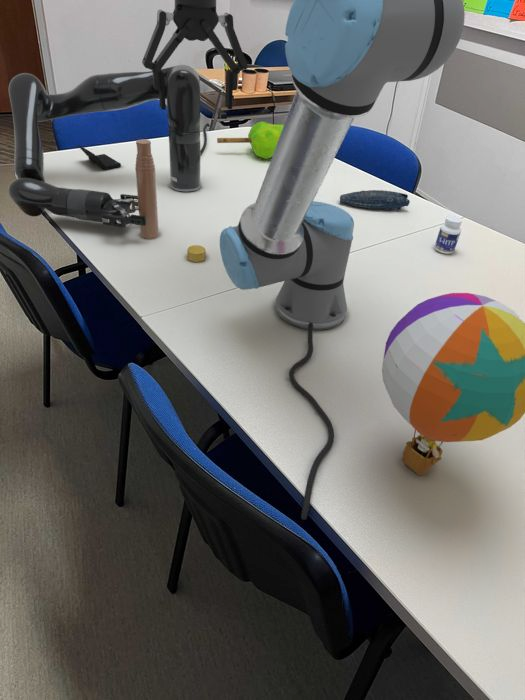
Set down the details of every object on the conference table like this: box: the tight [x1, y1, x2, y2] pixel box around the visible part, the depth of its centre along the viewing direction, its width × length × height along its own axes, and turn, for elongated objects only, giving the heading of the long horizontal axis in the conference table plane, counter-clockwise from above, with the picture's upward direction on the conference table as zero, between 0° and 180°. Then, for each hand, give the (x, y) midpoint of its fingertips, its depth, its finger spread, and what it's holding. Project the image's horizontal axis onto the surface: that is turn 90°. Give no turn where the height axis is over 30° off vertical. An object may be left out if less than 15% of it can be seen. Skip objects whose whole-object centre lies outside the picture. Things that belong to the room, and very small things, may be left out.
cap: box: [186, 244, 207, 263], centre depth 126 cm, size 4×4×2 cm
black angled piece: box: [77, 144, 122, 170], centre depth 169 cm, size 12×7×10 cm
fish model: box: [339, 189, 411, 211], centre depth 158 cm, size 7×21×5 cm, turn 84°
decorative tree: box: [216, 121, 284, 160], centre depth 186 cm, size 18×10×30 cm
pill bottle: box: [434, 215, 463, 255], centre depth 137 cm, size 5×5×9 cm
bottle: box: [134, 138, 160, 240], centre depth 127 cm, size 5×5×24 cm
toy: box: [381, 292, 525, 477], centre depth 72 cm, size 20×20×30 cm
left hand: (151, 214), depth 131 cm, fingers open, 8 cm apart
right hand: (196, 107), depth 105 cm, fingers open, 13 cm apart
